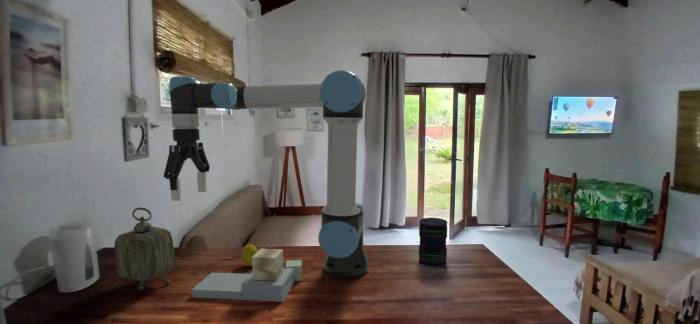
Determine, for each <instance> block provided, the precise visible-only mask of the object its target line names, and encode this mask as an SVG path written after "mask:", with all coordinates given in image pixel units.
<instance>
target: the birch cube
mask: <svg viewBox="0 0 700 324" xmlns="http://www.w3.org/2000/svg"><path fill="white" fill-rule="evenodd" d="M257 251H258V252H257V253H256V254H255V255H254V256H253V257H252V266H251V267H252V272H253V280H256V281H277V280H278V278H279V277H280V276H281V274H282V273H283V272H284V271H283V268H284V249H280V248H279V249H277V248H274V249H273V248H259V250H257Z"/></svg>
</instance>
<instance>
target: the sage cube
mask: <svg viewBox="0 0 700 324" xmlns="http://www.w3.org/2000/svg"><path fill="white" fill-rule="evenodd" d="M302 264H303V262H302V259H300V260H299V259H298V260H297V259H296V260H295V259H294V260H286V261H285V268H292V269H294V282H299V281H300V282H301V281H303V265H302Z"/></svg>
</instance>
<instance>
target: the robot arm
mask: <svg viewBox="0 0 700 324" xmlns="http://www.w3.org/2000/svg"><path fill="white" fill-rule="evenodd" d="M366 93H367V92H366V88H365V85H364V83H363V82H362V80H361V78H359V76H358V75H357V74H355V73H354V72H352V71H349V70H344V69H339V70H335V71H332V72H330V73H329V74H328V75H326V76H325V78H324V79H323V81H322V82H320V83H307V84H306V83H304V84H303V83H302V84H273V85H246V86H245V85H242V86H241V85H238V86H237V85H236V86H235V85H233V84H232V83H231V82H222V81H219V82H207V83H206V82H203V83H197V79H196V78H195V77H193V76H187V75H186V76H185V75H184V76H181V75H178V76H177V75H176V76H171V78H170V79H169V97H170V110H171V112H170V113H171V124H172V125H171V126H172V127H173V129H172V140H173V142H176V144H169V147H168V156H167V160H166V165H165V168H164V173H163V178H165V179H166V180H169V189H170V195H171V196H170V197H171V201H172V202H173V201H174V202H181V201H182V191H181V190H182V188H181V178H179V176H180V173H181V171H182V168H183V166H184V165H185V162H186V161H187V160H188V159H190V160H191V161H192V163H193V164H194V166H195V168H196V169H197V171H198V172H196V175H197V176H196V177H197V179H196V180H197V192H198V193H206V192H208V189H207V188H208V186H207V173H208V172H210V169H211V166H210V164H209V161H208V158H207V155H206V152H205V149H204V143H203V142H198V141H200V137H201V136H200V129H199V128H198V127H200V124H199V123H200V122H199V109H222V110H223V109H224V110H236V111H238V110H239V111H240V110H255V109H298V108H299V109H301V108H302V109H303V108H305V109H306V108H321V109H322V119H323V120H324V121H325V122H326V123H327V164H326V165H327V167H326V169H327V172H326V173H327V175H326V177H327V179H326V204H325V205H324V206H323V207H322V209H321V223H320V224H321V226H320V227H321V228H320V229H319V231H318V236H317V237H318V240H317V241H318V244H319V247H320V249H321V251H322V252H324V253H325V254H326V256H325V260H324V265H323V266H324V271H325V273H327V274H329V275H330V276H334V277H338V278H354V277H358V276H362V275H364V274H365V273H367V272H368V271H369V260H368V256H367V253H366V251H365V248H364V247H365V246H364V213H365V212H364V206H363V204H362V203H360V202H356V201H357V199H356V195H357V191H356V188H357V157H358V156H357V155H358V153H357V150H358V149H357V148H358V143H357V142H358V125H359V124H360V123H361V121H363V120H364V119H363V117H364V103H365V101H366V96H367V94H366Z"/></svg>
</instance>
